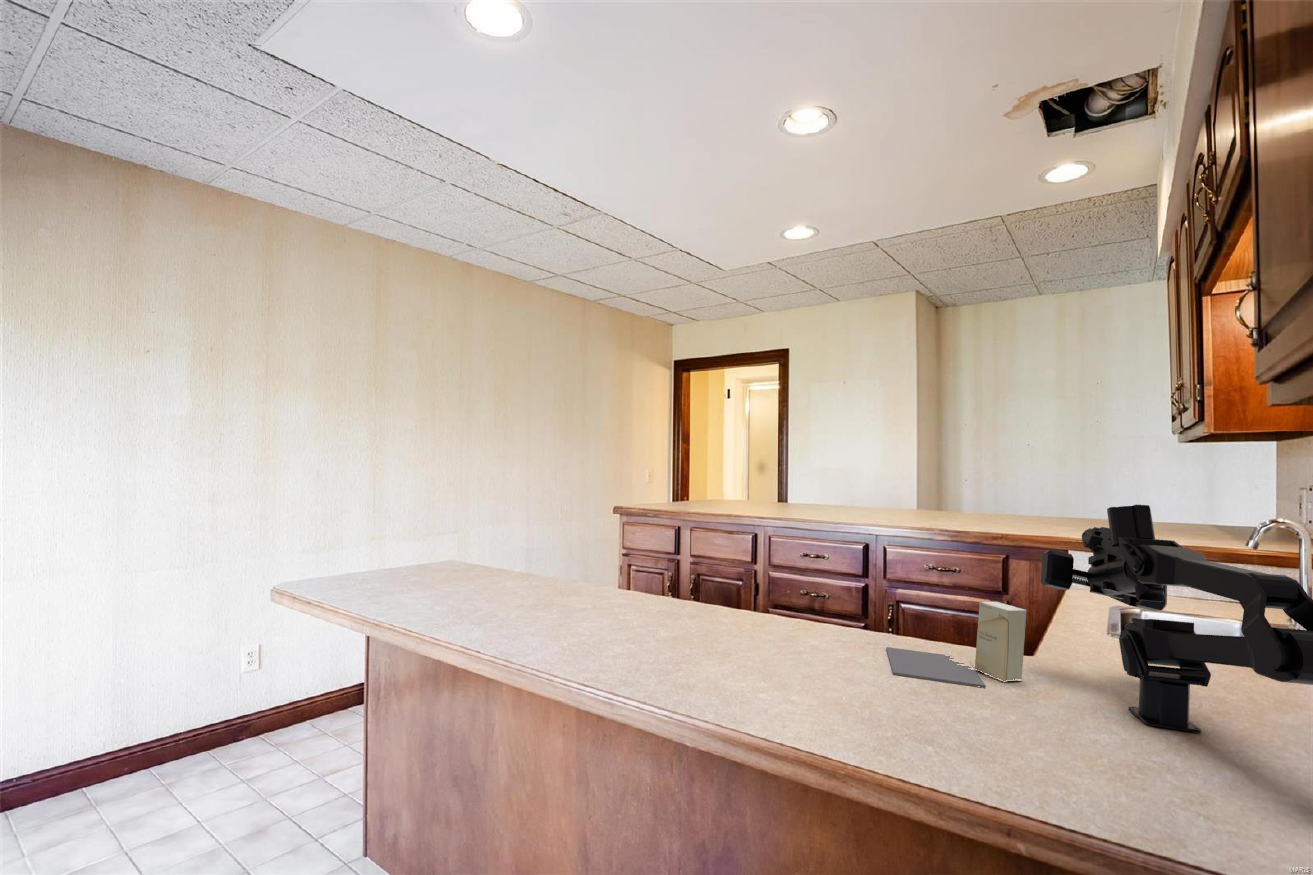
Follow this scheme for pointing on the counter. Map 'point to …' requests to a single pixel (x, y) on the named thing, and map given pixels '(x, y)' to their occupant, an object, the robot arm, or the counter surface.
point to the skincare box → (1000, 640)
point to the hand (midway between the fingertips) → (1077, 585)
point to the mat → (931, 667)
